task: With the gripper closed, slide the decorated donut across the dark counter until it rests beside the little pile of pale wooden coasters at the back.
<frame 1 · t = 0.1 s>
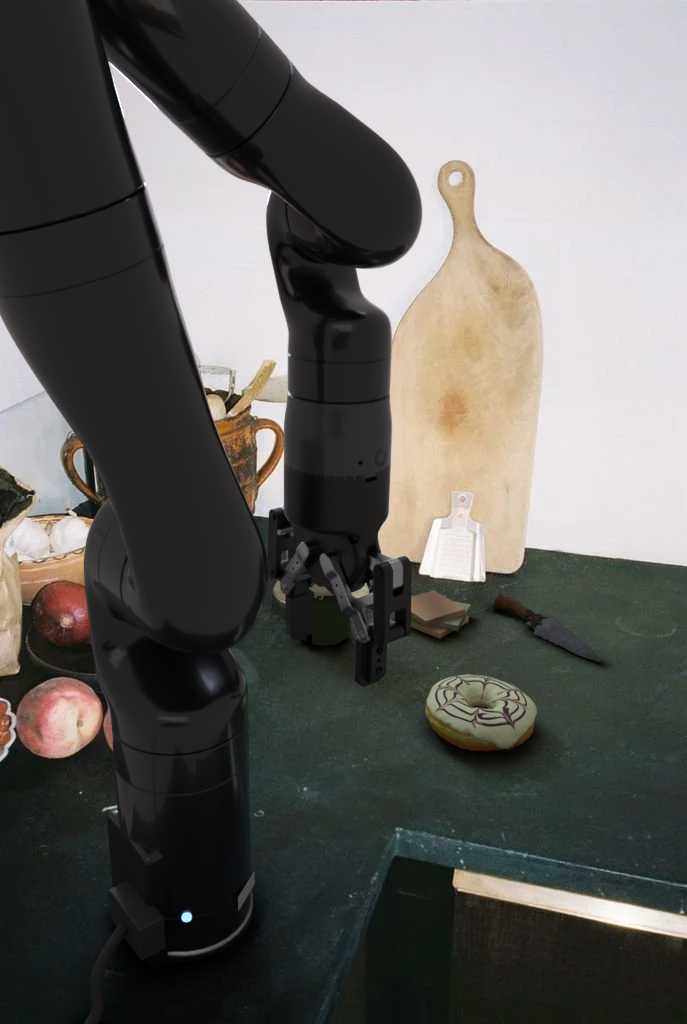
hand: (333, 658, 71), 17 cm above the worktop, tool pointing down, fingers open, 8 cm apart
knife: (546, 634, 112), on the worktop
decorated donut: (478, 729, 93), on the worktop
character mug: (324, 638, 110), on the worktop
coaster stack: (434, 622, 114), on the worktop
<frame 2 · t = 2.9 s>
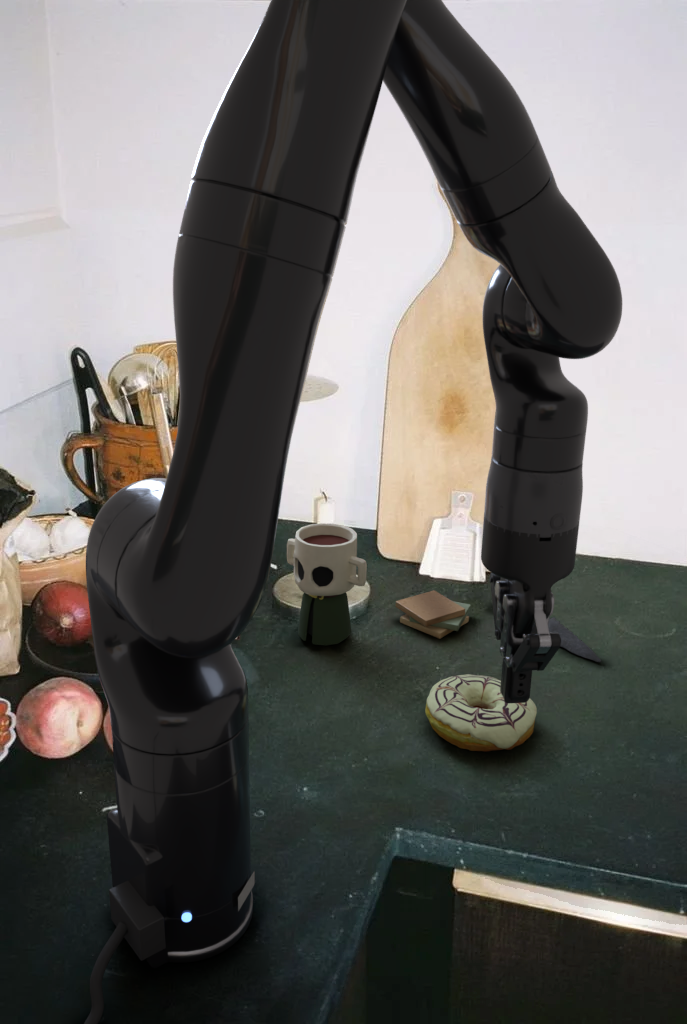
hand: (514, 698, 81), 9 cm above the worktop, tool pointing down, fingers closed
nothing on the worktop moved.
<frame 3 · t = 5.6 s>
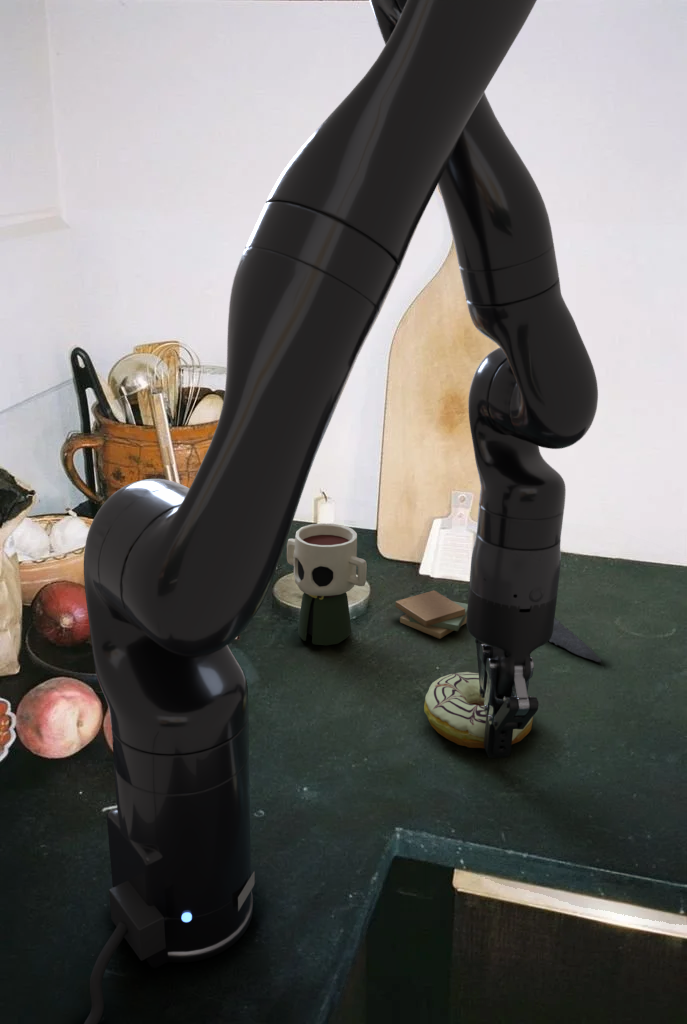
hand: (496, 753, 87), 2 cm above the worktop, tool pointing down, fingers closed
decorated donut: (477, 727, 94), on the worktop, touching gripper
everything else where it was.
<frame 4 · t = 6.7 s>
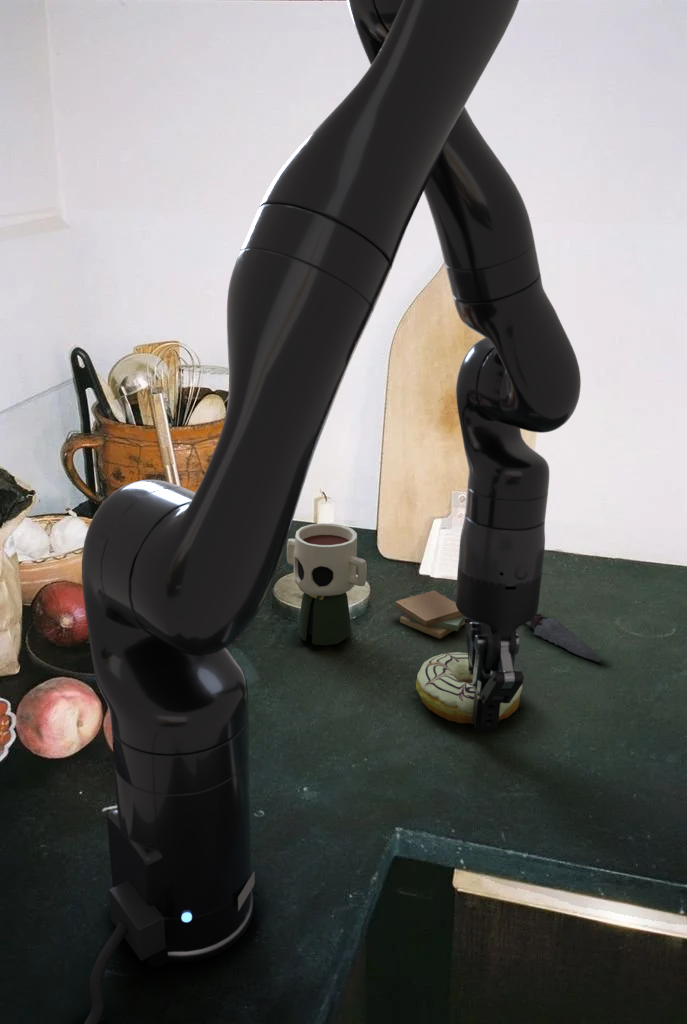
hand: (484, 727, 90), 2 cm above the worktop, tool pointing down, fingers closed
decorated donut: (467, 704, 97), on the worktop, touching gripper
everything else where it was.
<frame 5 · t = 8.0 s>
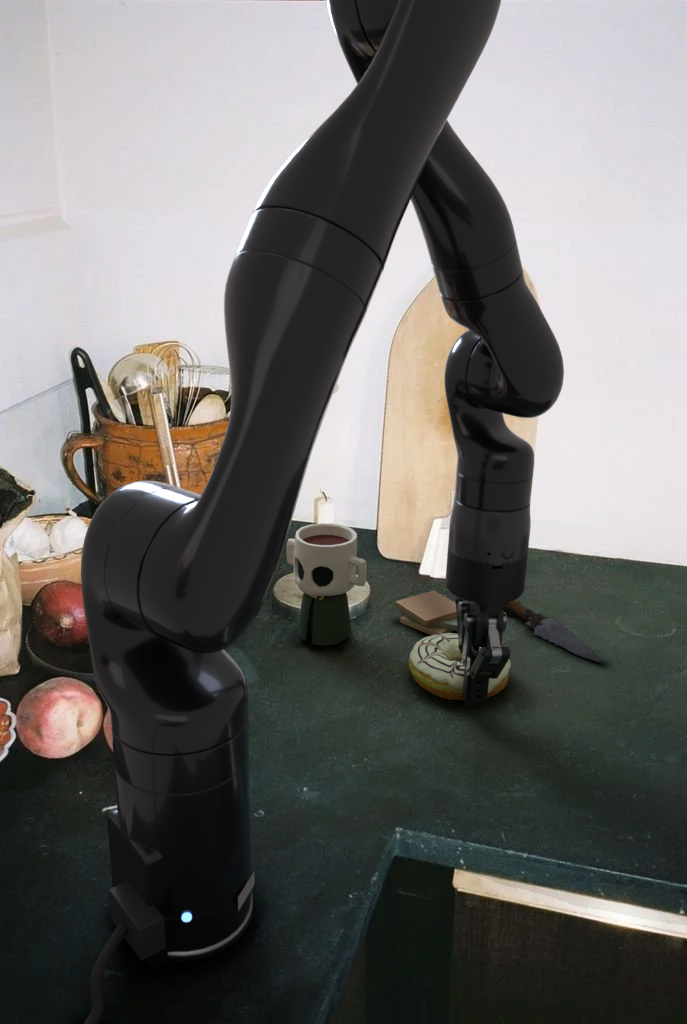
hand: (474, 703, 94), 2 cm above the worktop, tool pointing down, fingers closed
decorated donut: (457, 682, 101), on the worktop, touching gripper
everything else where it was.
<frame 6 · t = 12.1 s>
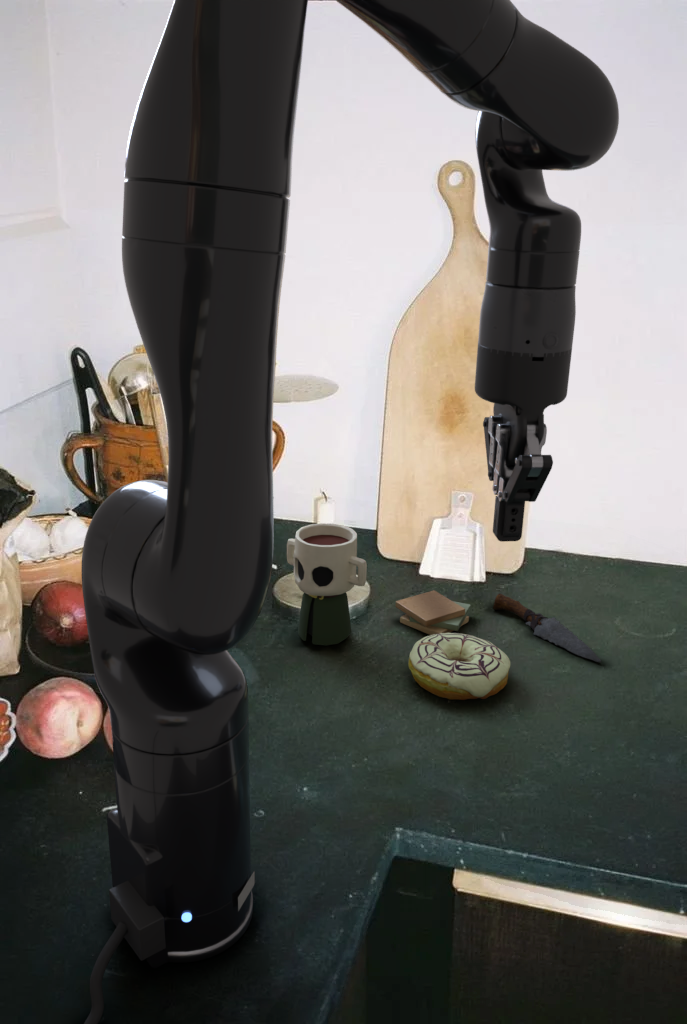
hand: (506, 538, 82), 22 cm above the worktop, tool pointing down, fingers closed
decorated donut: (457, 682, 101), on the worktop
everything else where it was.
at the end: decorated donut 13.5 cm from the coaster stack (horizontally); decorated donut moved 9.0 cm from its start; coaster stack moved 0.0 cm from its start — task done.
